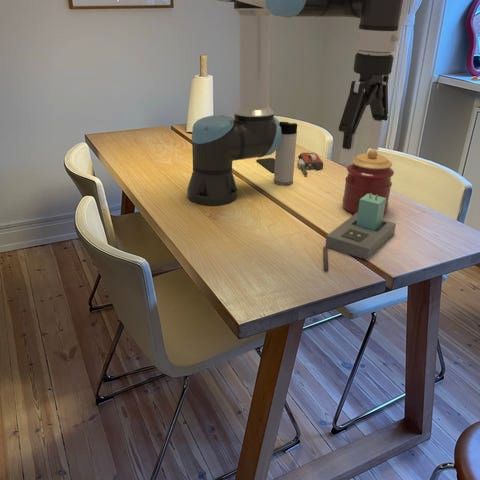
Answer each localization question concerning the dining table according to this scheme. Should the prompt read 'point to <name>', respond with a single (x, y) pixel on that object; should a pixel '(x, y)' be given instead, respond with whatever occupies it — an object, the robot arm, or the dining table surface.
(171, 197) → the dining table surface
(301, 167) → the walkie-talkie
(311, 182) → the dining table surface
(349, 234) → the grey flat block
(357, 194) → the canister
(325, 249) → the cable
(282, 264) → the dining table surface
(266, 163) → the phone
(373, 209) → the charger block
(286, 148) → the travel mug
